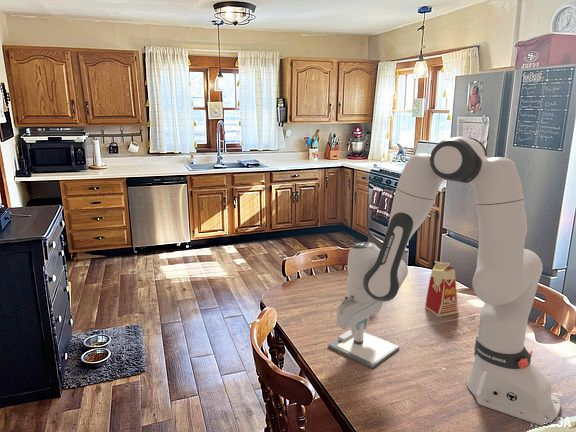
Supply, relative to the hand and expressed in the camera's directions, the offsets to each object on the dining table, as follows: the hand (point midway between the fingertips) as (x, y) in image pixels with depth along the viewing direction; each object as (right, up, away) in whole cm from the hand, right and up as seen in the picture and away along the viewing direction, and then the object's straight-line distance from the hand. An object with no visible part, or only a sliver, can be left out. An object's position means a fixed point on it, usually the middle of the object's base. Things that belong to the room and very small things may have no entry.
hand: (359, 331), depth 140 cm
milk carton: (+35, +1, +26) cm, 44 cm away
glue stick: (0, -4, +1) cm, 4 cm away
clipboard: (+1, -5, 0) cm, 6 cm away
